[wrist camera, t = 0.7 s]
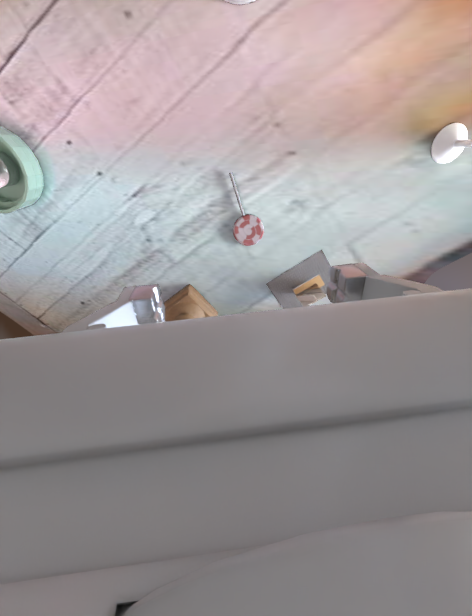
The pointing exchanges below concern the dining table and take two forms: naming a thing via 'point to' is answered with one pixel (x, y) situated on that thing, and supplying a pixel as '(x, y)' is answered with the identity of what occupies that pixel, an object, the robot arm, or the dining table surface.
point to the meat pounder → (8, 171)
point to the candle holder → (188, 305)
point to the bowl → (29, 170)
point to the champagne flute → (450, 143)
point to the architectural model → (302, 282)
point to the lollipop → (246, 224)
